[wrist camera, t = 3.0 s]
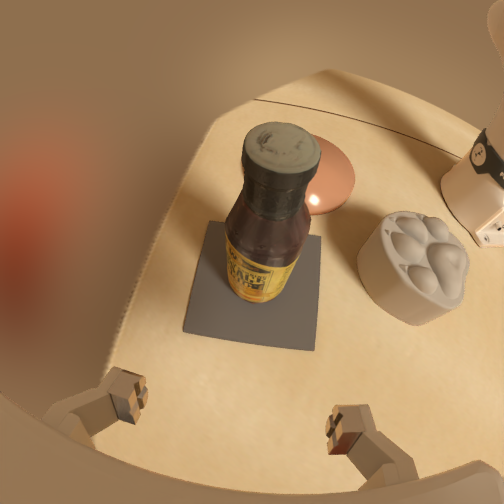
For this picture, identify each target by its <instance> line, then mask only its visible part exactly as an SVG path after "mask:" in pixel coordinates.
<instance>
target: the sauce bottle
mask: <svg viewBox="0 0 504 504" xmlns="http://www.w3.org/2000/svg"><path fill="white" fill-rule="evenodd" d="M320 158H321V149H320V145H319V143H318V142H317V140H316V139H315V137H314V136H313V135H311V134H310V133H309V132H307V131H306V130H304V129H303V128H301V127H299V126H297V125H294V124H291V123H282V122H268V123H264V124H261V125H258V126H256V127H254V128H253V129H251V130H250V131H249V132H248V134H247V135H246V137H245V140H244V144H243V151H242V164H243V167H244V169H245V171H244V174H245V176H244V184H243V189H242V191H241V193H240V195H239V197H238V199H237V200H236V202H235V204H234V206H233V208H232V210H231V211H230V213H229V215H228V217H227V218H226V221H225V242H226V257H227V271H228V280H229V283H230V285H231V287H232V289H233V291H234V292H235V294H236V295H237V296H239V297H240V298H242V299H243V300H245V301H247V302H249V303H252V304H254V303H264V302H267V301H270V300H272V299H274V298H275V297H276V296H277V295H278V294H279V293H280V292H281V291H282V290H283V288H284V286H285V284H286V282H287V280H288V278H289V276H290V274H291V272H292V270H293V268H294V266H295V264H296V261H297V260H298V258H299V256H300V254H301V251H302V249H303V245H304V244H305V241H306V238H307V236H308V233H309V229H310V222H311V217H310V213H309V210H308V207H307V204H306V203H305V201H304V200H305V197H306V196H305V193H306V189H307V186H308V184H309V182H310V181H311V180H312V178H313V177H314V176H315V174H316V173H317V169H318V166H319V162H320Z"/></svg>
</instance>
